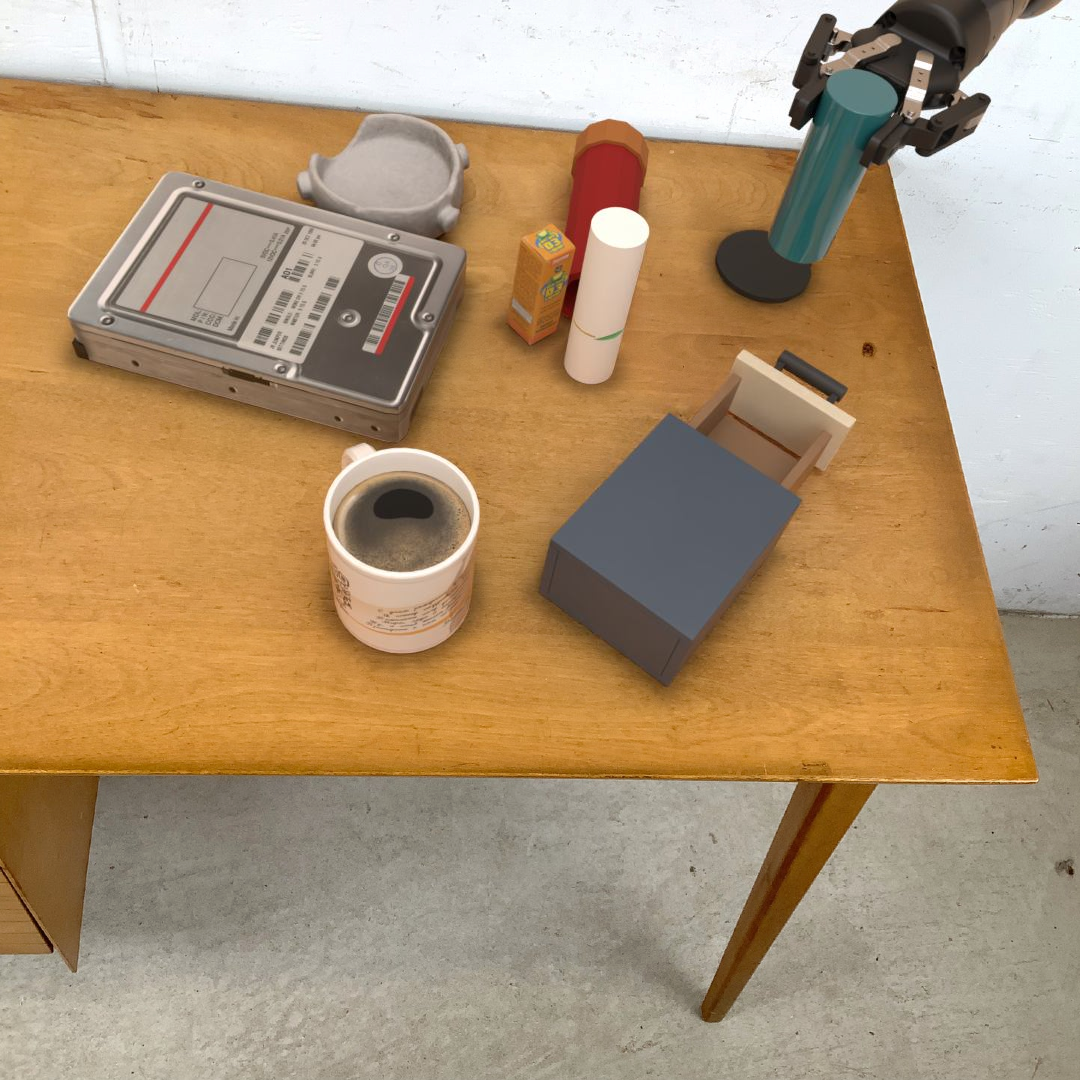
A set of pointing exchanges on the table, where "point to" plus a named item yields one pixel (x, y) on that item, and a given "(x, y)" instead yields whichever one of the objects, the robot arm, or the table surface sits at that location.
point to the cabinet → (665, 546)
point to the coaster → (759, 268)
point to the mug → (401, 546)
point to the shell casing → (601, 186)
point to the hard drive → (273, 305)
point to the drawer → (777, 417)
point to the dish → (392, 176)
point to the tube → (605, 293)
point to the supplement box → (540, 283)
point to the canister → (830, 164)
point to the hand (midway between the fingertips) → (833, 135)
